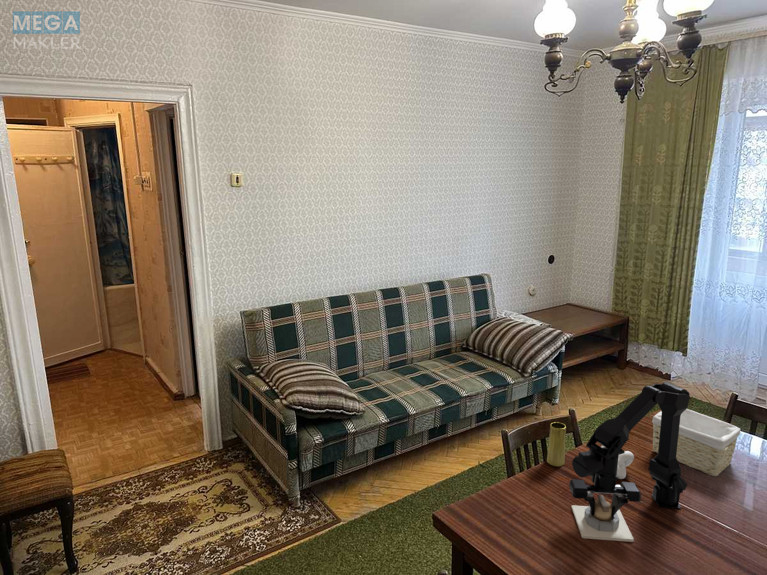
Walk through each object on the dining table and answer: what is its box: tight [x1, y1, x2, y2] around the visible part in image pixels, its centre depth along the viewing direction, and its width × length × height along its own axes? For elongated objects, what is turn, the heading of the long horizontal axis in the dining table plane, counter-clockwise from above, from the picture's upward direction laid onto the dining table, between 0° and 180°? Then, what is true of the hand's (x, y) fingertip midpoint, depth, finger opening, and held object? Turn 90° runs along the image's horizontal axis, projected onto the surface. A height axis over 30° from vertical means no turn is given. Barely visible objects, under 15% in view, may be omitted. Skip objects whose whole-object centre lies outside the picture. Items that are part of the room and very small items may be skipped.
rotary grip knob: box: [593, 494, 612, 522], centre depth 158 cm, size 6×5×6 cm
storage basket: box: [651, 408, 741, 477], centre depth 191 cm, size 24×16×15 cm
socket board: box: [571, 504, 635, 543], centre depth 158 cm, size 14×14×3 cm
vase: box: [546, 421, 567, 467], centre depth 190 cm, size 6×6×14 cm
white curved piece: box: [600, 445, 635, 480], centre depth 184 cm, size 11×12×9 cm
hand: (601, 515), depth 158 cm, fingers closed on rotary grip knob, 5 cm apart
